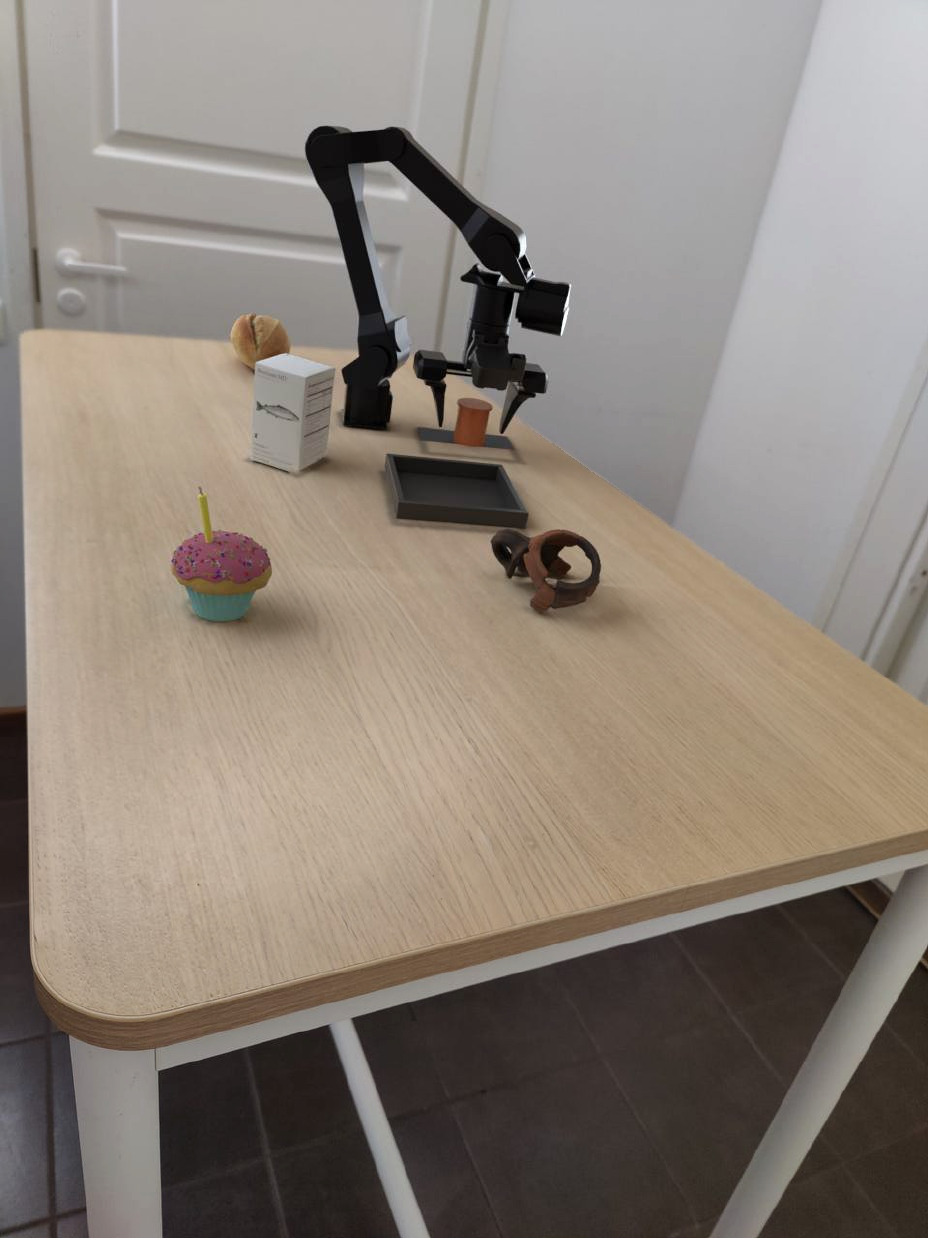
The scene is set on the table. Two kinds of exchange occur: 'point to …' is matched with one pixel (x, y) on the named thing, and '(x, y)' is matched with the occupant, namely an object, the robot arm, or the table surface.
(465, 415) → the orange cylinder
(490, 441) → the mat
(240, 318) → the bread roll
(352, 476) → the table surface
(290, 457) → the white packaging box
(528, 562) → the broken pottery
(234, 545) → the cupcake
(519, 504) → the tray
